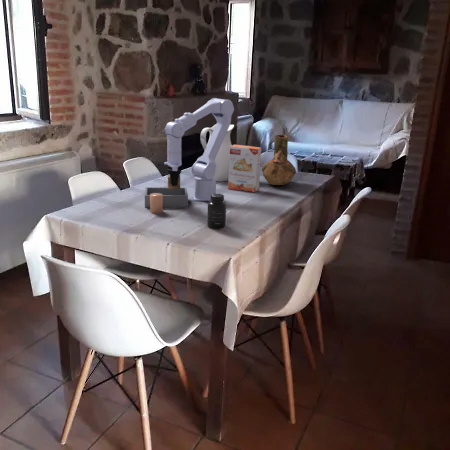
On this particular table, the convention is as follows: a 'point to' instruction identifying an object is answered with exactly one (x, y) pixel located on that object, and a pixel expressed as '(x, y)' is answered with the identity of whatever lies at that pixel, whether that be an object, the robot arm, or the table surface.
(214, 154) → the robot arm
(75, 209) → the table surface
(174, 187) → the cube
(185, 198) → the tote
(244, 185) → the cracker box
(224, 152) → the pitcher
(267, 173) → the ceramic vessel
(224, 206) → the supplement bottle
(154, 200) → the peach rounded capsule
